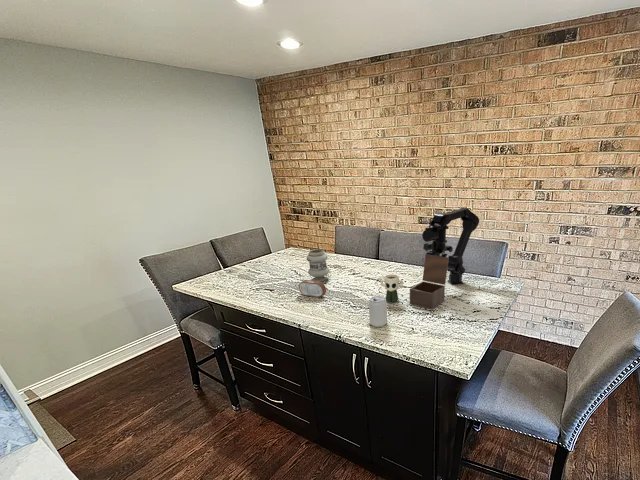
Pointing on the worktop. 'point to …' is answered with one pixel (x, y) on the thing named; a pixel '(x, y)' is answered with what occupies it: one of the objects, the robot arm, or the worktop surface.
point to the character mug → (391, 286)
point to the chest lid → (435, 269)
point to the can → (378, 311)
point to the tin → (312, 288)
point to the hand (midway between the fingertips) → (439, 267)
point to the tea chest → (427, 294)
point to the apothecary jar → (318, 265)
